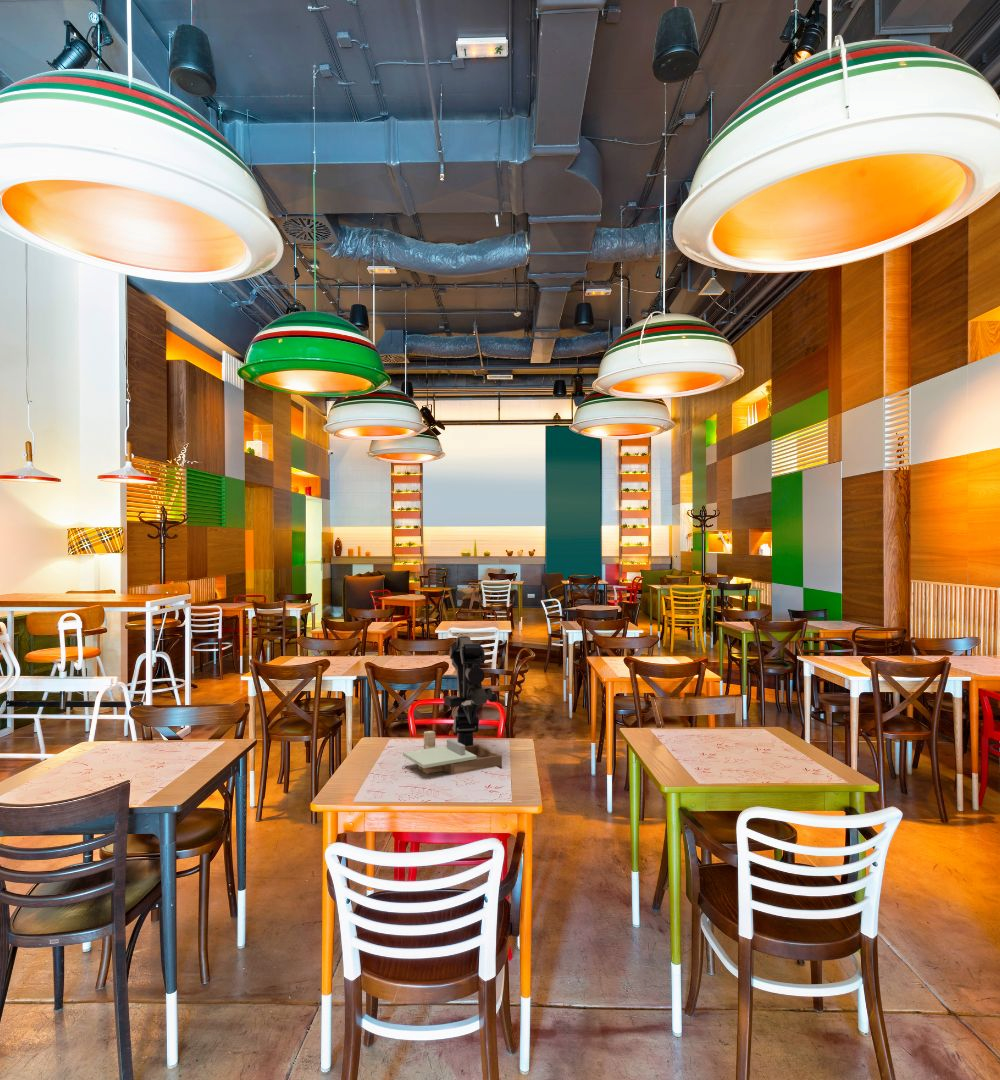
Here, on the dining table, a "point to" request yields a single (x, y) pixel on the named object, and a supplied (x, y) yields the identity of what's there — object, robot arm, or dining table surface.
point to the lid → (440, 755)
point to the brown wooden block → (429, 739)
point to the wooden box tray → (469, 762)
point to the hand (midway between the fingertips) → (471, 723)
